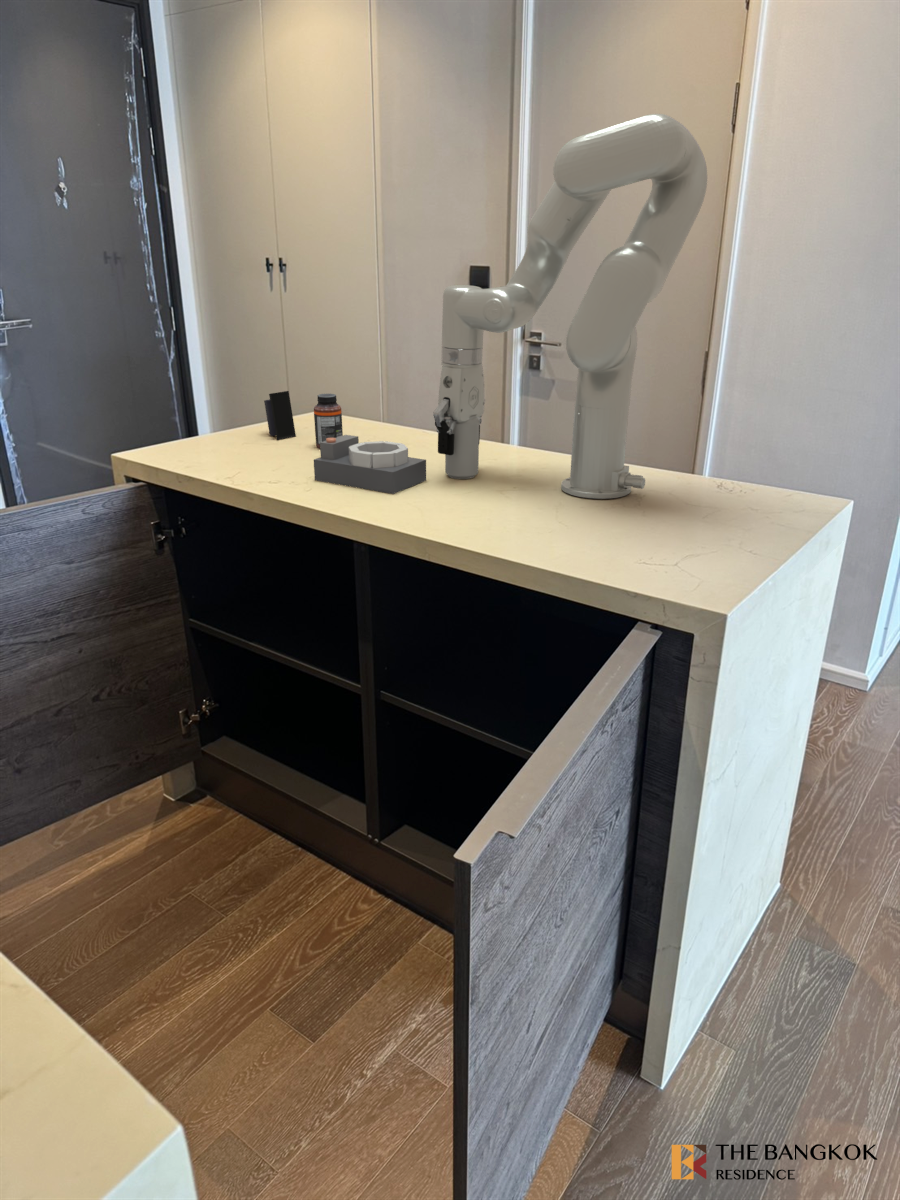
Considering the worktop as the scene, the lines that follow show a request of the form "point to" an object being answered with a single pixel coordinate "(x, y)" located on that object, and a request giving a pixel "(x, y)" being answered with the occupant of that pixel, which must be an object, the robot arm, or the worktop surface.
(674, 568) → the worktop surface
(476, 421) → the beverage can
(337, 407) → the supplement bottle
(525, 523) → the worktop surface
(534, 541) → the worktop surface
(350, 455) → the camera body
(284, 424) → the speaker
